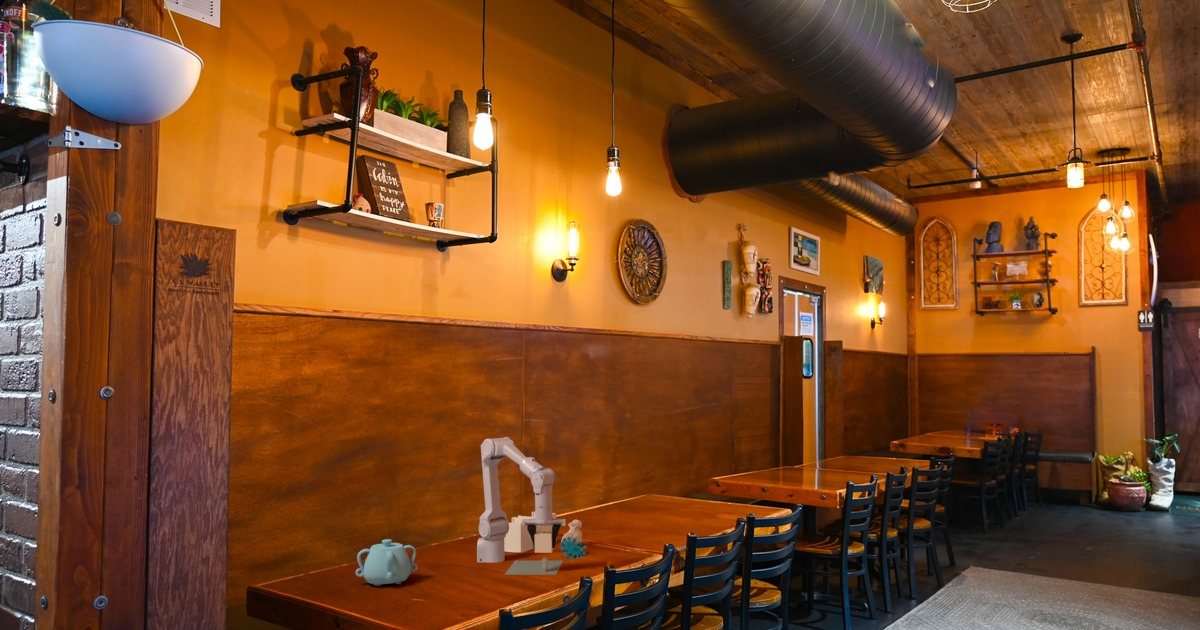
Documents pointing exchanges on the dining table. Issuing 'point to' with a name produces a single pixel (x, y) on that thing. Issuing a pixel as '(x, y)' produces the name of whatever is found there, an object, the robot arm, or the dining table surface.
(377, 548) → the decorative pot
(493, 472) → the robot arm
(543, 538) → the cabinet with handle
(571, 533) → the bust
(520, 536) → the storage container
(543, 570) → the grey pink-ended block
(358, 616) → the dining table surface
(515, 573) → the base plate
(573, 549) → the gear
